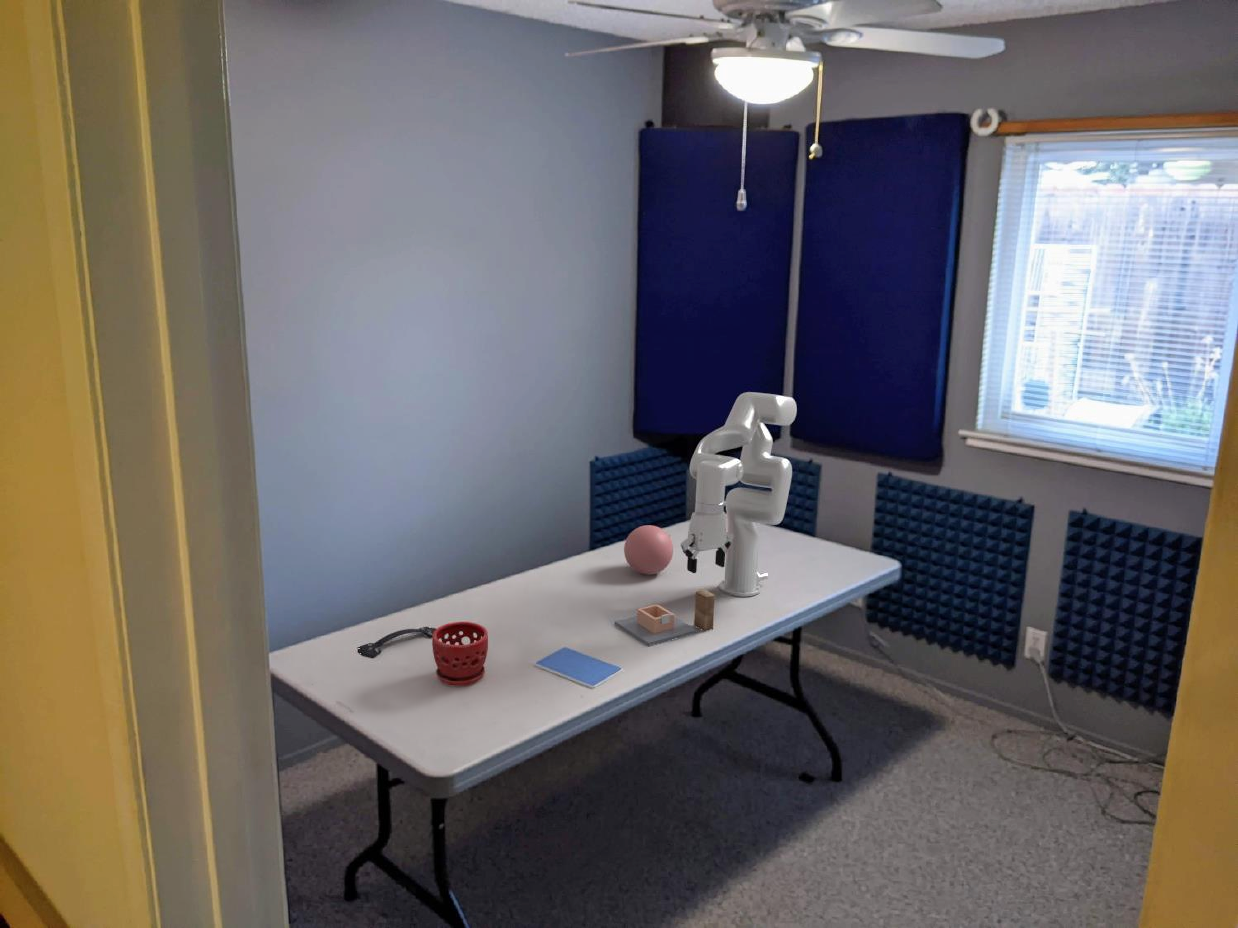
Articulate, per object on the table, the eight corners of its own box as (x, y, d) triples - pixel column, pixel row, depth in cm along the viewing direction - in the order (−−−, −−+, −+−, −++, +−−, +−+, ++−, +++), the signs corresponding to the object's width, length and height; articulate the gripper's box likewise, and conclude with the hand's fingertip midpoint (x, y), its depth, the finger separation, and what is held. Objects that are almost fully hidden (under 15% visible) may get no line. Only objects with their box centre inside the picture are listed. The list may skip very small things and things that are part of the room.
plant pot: (422, 677, 228) (421, 631, 225) (467, 660, 237) (466, 616, 234) (454, 697, 219) (453, 649, 216) (499, 679, 228) (499, 633, 225)
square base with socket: (661, 612, 269) (662, 593, 267) (696, 633, 256) (697, 613, 254) (614, 624, 260) (615, 605, 258) (648, 646, 247) (649, 626, 246)
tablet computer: (624, 672, 234) (625, 667, 233) (593, 691, 224) (593, 686, 224) (564, 650, 245) (564, 645, 245) (532, 667, 235) (532, 662, 235)
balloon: (689, 568, 304) (691, 522, 300) (653, 585, 288) (655, 537, 284) (650, 557, 313) (652, 512, 309) (613, 573, 297) (614, 527, 293)
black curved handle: (348, 652, 241) (347, 639, 241) (433, 626, 258) (433, 614, 257) (364, 664, 235) (364, 652, 234) (451, 637, 251) (451, 625, 250)
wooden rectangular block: (702, 623, 262) (704, 589, 260) (713, 629, 259) (714, 594, 256) (694, 625, 261) (695, 591, 258) (704, 631, 257) (706, 597, 255)
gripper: (725, 500, 259) (721, 559, 263) (674, 508, 249) (671, 569, 253) (743, 506, 253) (739, 567, 257) (692, 515, 243) (689, 578, 247)
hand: (705, 568), depth 255 cm, fingers open, 9 cm apart
